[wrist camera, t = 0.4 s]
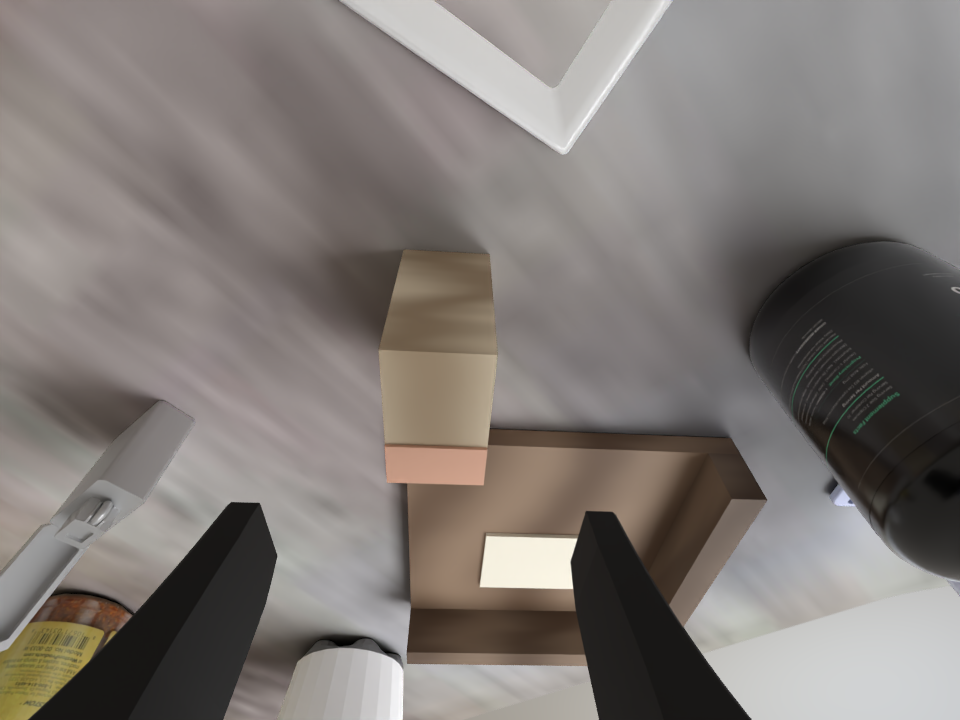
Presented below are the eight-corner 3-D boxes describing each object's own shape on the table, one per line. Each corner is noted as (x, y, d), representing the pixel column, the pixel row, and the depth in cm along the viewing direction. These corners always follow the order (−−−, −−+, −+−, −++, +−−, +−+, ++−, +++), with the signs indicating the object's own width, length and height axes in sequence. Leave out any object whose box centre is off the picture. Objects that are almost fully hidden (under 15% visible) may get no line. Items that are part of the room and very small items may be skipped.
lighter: (160, 398, 21) (25, 576, 15) (197, 421, 22) (83, 599, 15) (80, 469, 24) (-65, 647, 17) (116, 487, 24) (-11, 663, 18)
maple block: (489, 254, 17) (498, 357, 12) (479, 366, 20) (483, 485, 15) (403, 249, 17) (377, 352, 12) (406, 363, 20) (387, 482, 15)
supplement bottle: (978, 253, 18) (1595, 570, 8) (856, 396, 22) (1167, 721, 12) (807, 219, 17) (1266, 527, 7) (712, 374, 21) (922, 706, 11)
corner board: (731, 438, 23) (767, 500, 20) (640, 608, 33) (656, 666, 30) (408, 425, 22) (399, 488, 19) (412, 604, 32) (407, 663, 29)
